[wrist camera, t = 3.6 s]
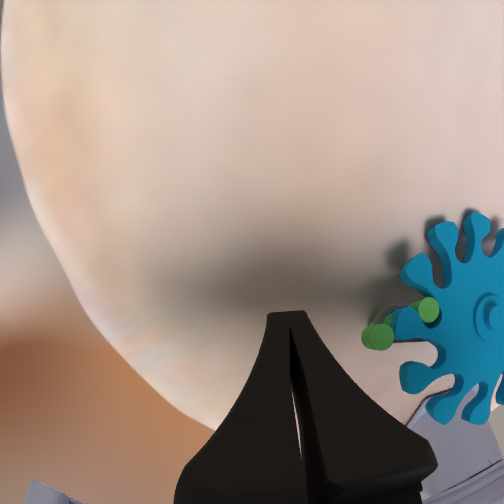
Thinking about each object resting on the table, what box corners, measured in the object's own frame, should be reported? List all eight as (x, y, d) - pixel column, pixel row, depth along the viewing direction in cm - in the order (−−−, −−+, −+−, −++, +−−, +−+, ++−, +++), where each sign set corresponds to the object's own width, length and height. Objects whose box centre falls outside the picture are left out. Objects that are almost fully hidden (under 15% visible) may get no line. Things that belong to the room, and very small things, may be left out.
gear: (543, 217, 10) (546, 405, 7) (490, 248, 15) (490, 394, 13) (370, 194, 11) (360, 451, 8) (345, 240, 17) (337, 413, 14)
